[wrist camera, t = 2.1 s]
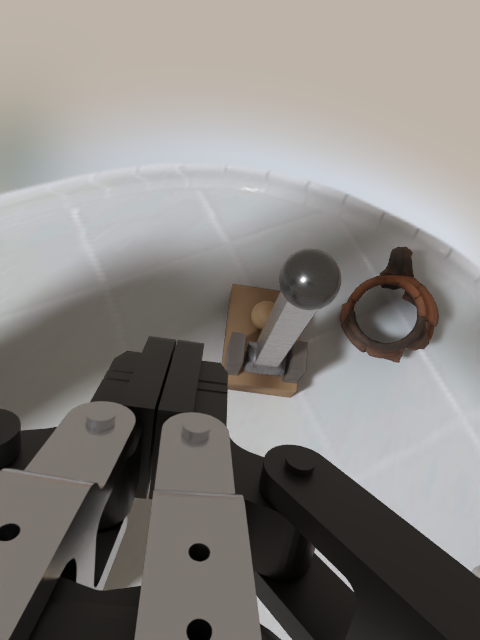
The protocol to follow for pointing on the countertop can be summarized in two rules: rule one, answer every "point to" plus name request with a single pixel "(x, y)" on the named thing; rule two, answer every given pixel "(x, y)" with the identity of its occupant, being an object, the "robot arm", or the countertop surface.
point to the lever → (293, 309)
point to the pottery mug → (415, 293)
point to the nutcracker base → (247, 324)
